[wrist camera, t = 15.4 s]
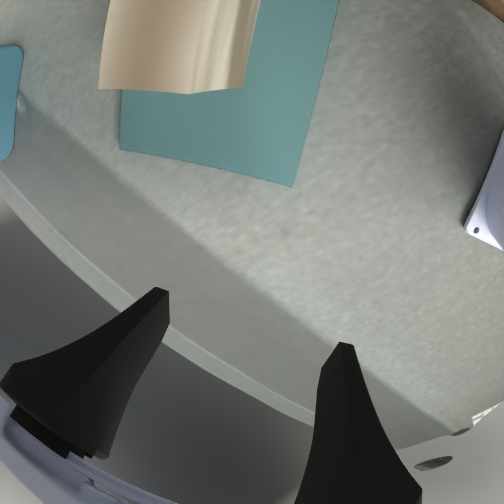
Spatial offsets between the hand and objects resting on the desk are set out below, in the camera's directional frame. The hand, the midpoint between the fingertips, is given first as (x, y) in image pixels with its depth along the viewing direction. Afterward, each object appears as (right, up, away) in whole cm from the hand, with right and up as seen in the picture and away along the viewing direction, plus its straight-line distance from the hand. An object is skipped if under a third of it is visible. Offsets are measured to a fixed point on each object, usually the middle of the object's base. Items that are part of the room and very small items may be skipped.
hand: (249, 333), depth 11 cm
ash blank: (-2, +15, +1) cm, 15 cm away
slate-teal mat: (-2, +16, +2) cm, 16 cm away
